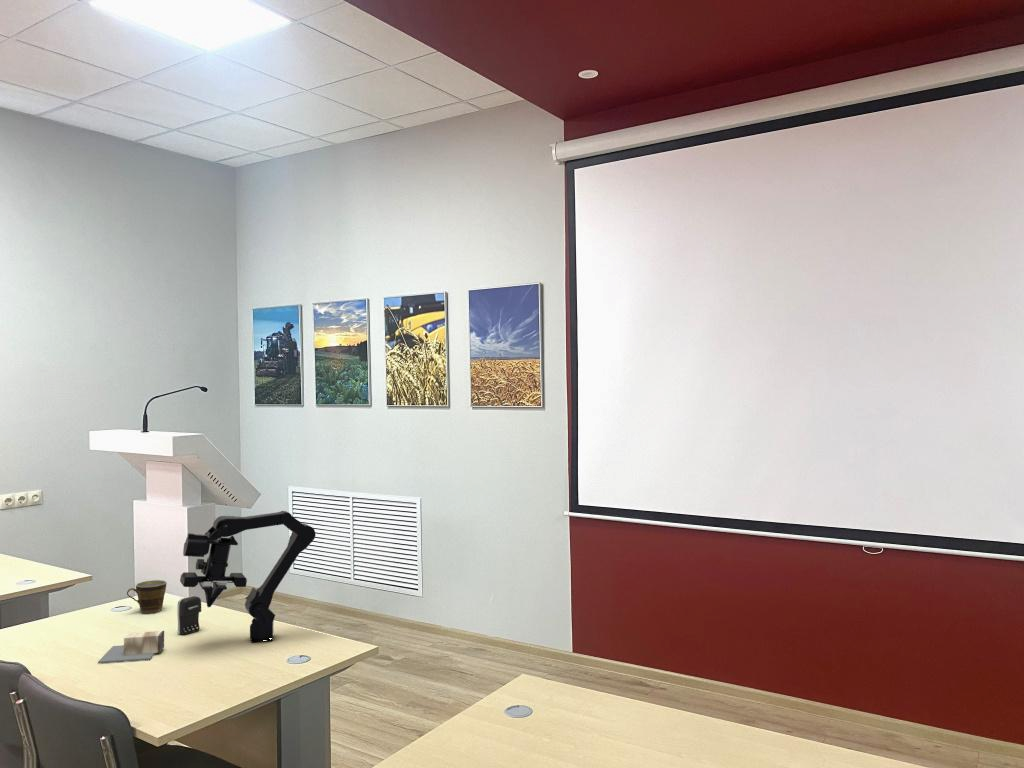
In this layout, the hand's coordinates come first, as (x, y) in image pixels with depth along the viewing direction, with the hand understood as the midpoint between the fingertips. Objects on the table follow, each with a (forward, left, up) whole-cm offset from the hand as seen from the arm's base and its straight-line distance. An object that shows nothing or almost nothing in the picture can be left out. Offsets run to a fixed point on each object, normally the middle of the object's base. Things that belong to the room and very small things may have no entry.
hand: (208, 606), depth 235 cm
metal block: (+13, +3, -9) cm, 16 cm away
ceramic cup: (+28, -43, -12) cm, 53 cm away
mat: (+21, +3, -12) cm, 25 cm away
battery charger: (+8, -15, -12) cm, 21 cm away
